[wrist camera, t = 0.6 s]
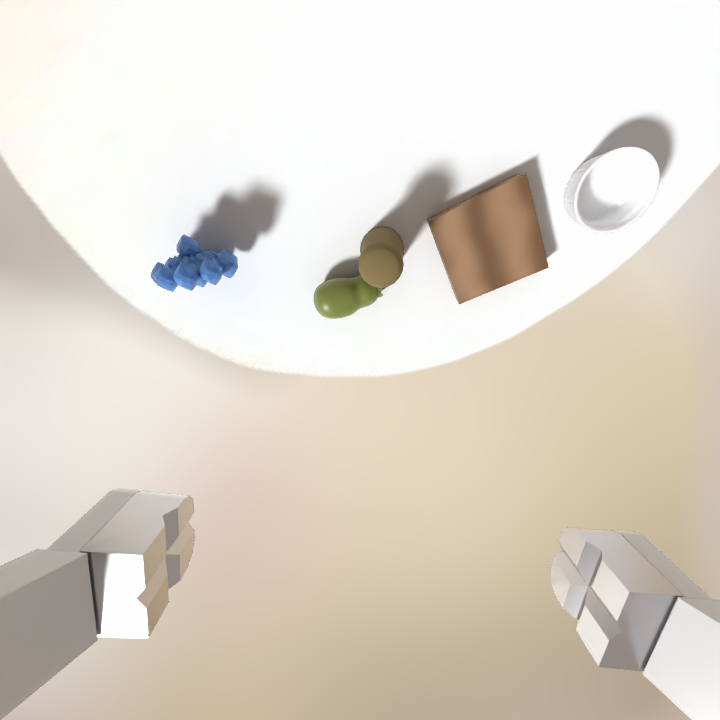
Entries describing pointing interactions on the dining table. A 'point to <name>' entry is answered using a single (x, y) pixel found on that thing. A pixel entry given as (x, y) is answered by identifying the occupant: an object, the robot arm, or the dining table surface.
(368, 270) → the pepper mill
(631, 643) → the robot arm
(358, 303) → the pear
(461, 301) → the walnut block
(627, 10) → the dining table surface
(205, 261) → the grapes
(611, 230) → the ramekin
